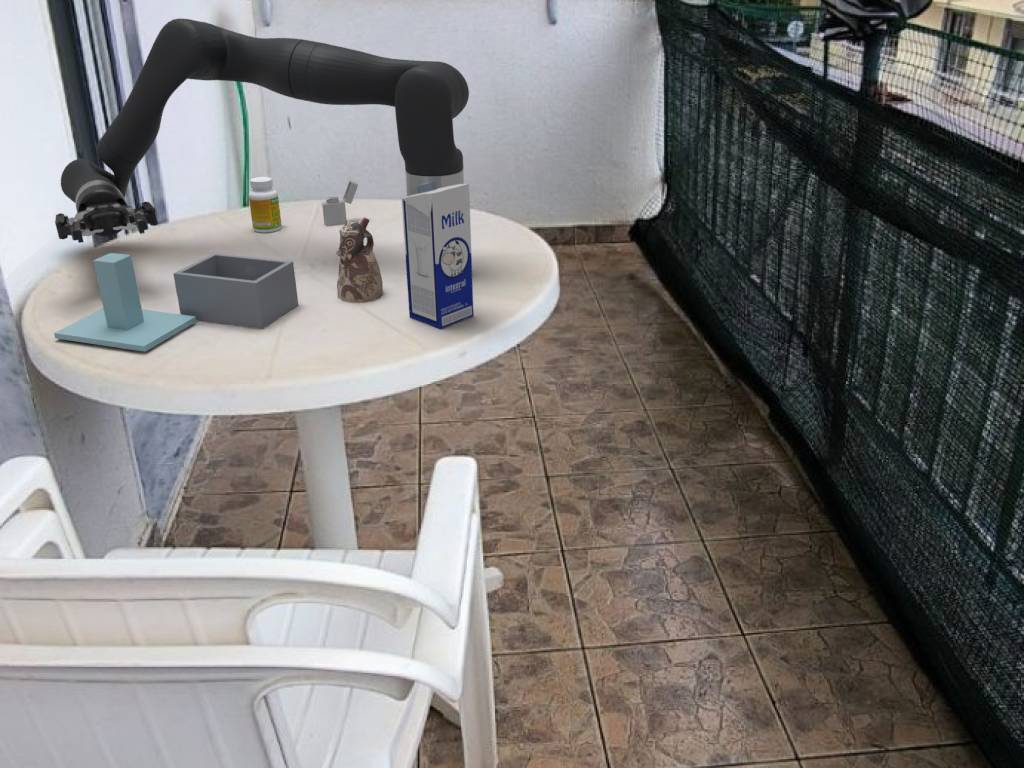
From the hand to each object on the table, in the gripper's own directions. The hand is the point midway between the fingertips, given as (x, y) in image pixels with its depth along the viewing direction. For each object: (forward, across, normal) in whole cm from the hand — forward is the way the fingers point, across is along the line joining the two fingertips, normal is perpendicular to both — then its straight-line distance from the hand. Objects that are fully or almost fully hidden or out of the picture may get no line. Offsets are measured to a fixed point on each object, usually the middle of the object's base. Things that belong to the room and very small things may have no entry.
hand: (110, 231), depth 139 cm
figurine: (+11, +34, +13) cm, 38 cm away
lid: (+10, -1, +12) cm, 16 cm away
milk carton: (+26, +41, +14) cm, 50 cm away
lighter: (-29, +43, +13) cm, 54 cm away
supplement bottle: (-32, +29, +12) cm, 45 cm away
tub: (+9, +15, +13) cm, 22 cm away
